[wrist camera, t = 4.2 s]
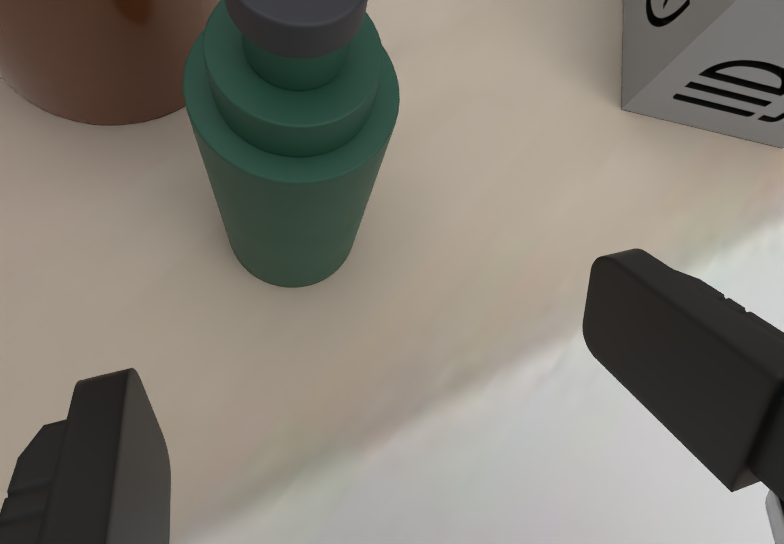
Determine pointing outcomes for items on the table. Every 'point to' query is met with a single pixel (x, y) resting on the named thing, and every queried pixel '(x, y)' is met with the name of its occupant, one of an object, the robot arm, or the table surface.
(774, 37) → the icon cube
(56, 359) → the table surface
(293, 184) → the green bottle
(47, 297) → the table surface
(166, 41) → the brown bottle
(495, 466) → the table surface
